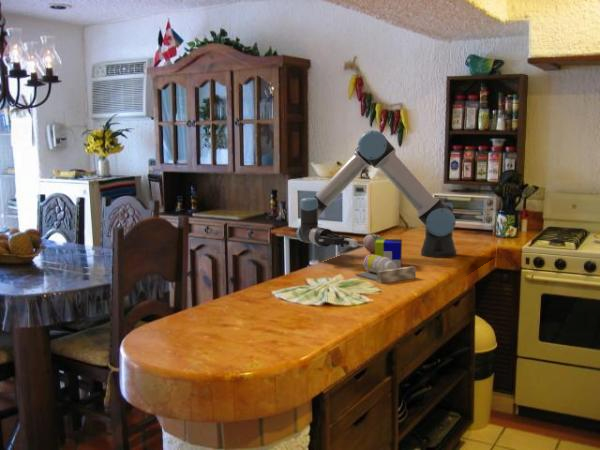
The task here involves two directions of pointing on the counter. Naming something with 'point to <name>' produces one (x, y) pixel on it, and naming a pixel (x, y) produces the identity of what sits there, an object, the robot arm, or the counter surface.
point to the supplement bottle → (378, 263)
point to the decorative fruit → (370, 242)
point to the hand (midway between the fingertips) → (355, 243)
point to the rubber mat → (368, 275)
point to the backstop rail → (395, 274)
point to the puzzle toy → (390, 250)
